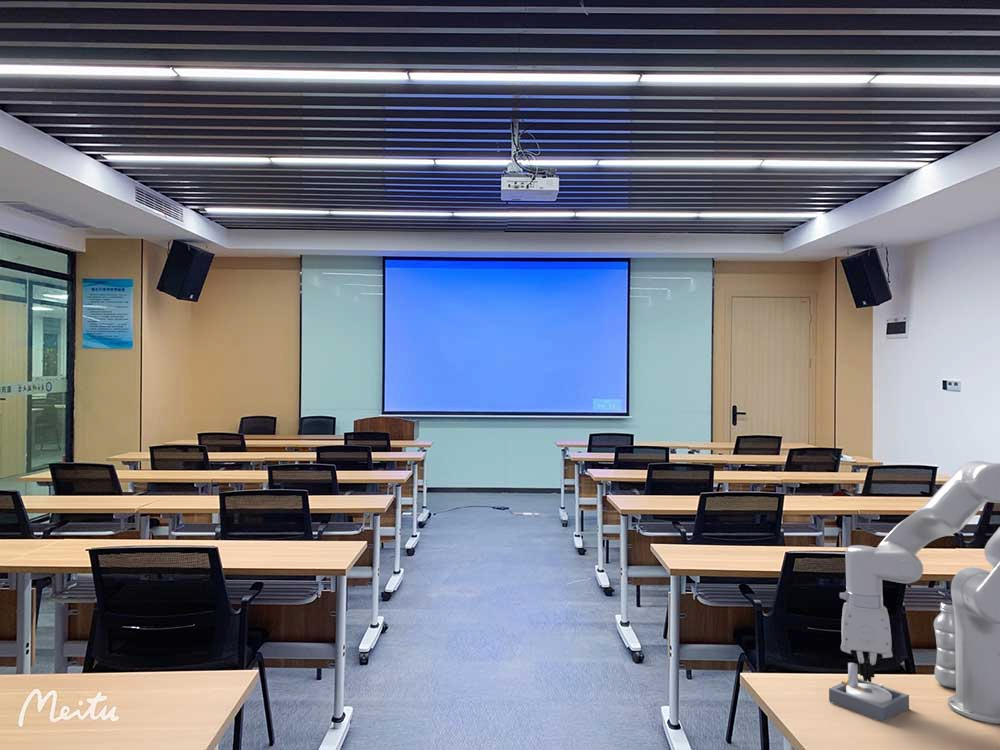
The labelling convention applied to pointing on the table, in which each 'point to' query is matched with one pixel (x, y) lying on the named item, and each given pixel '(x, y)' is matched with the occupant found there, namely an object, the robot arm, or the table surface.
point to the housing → (866, 707)
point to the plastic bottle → (945, 646)
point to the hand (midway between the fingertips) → (867, 679)
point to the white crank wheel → (865, 688)
